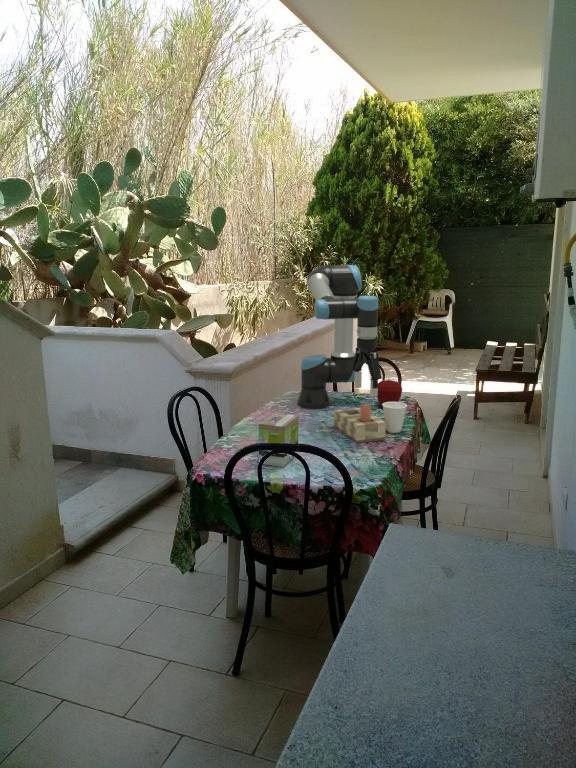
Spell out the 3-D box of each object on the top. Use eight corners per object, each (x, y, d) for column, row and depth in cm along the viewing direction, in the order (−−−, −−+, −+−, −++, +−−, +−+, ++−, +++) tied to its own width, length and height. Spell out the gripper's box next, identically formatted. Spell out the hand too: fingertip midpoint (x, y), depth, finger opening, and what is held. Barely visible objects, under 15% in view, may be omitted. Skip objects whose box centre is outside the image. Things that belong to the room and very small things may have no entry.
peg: (358, 433, 231) (358, 404, 228) (368, 432, 232) (368, 403, 229) (362, 436, 227) (362, 407, 224) (372, 435, 228) (372, 406, 225)
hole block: (333, 426, 243) (333, 410, 242) (359, 423, 247) (360, 407, 245) (357, 443, 223) (357, 425, 221) (385, 439, 227) (385, 422, 225)
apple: (374, 409, 268) (375, 381, 265) (376, 402, 279) (377, 375, 276) (401, 411, 265) (402, 382, 262) (402, 404, 276) (403, 376, 273)
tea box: (285, 467, 199) (285, 426, 196) (258, 464, 202) (257, 423, 199) (299, 453, 213) (298, 414, 210) (273, 450, 216) (272, 411, 213)
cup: (378, 433, 234) (379, 406, 232) (384, 426, 243) (385, 400, 241) (403, 436, 231) (404, 409, 228) (408, 428, 240) (409, 402, 237)
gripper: (344, 333, 231) (343, 385, 236) (373, 343, 208) (371, 401, 213) (361, 332, 233) (360, 383, 239) (392, 342, 211) (390, 399, 216)
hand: (365, 392), depth 226 cm, fingers open, 13 cm apart
